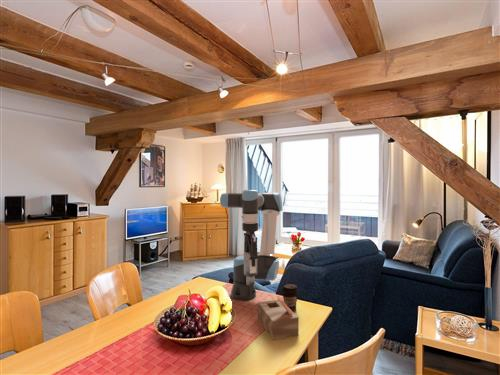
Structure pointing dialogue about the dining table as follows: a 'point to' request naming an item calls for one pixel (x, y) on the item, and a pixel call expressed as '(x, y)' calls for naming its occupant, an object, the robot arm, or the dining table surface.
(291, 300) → the coffee cup
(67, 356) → the dining table surface
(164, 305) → the dining table surface
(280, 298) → the keeper
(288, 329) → the hitch block
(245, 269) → the pin
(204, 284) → the dining table surface
